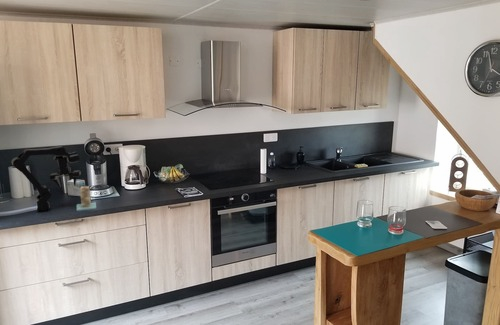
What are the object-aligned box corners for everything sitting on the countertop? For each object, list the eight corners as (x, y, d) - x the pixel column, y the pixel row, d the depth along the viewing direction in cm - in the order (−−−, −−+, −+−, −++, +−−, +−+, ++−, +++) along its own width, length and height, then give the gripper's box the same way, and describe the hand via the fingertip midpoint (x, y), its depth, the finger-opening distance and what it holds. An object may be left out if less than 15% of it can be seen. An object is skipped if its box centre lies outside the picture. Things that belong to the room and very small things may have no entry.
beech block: (81, 207, 255) (79, 188, 253) (83, 205, 260) (81, 186, 257) (89, 206, 256) (88, 188, 254) (90, 204, 261) (89, 186, 258)
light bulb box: (86, 193, 288) (85, 179, 286) (80, 196, 282) (78, 182, 280) (74, 192, 291) (72, 178, 289) (67, 195, 285) (66, 181, 282)
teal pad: (76, 211, 251) (76, 209, 251) (76, 205, 261) (76, 204, 261) (96, 208, 255) (96, 207, 255) (95, 203, 266) (95, 202, 266)
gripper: (80, 159, 264) (84, 181, 268) (50, 163, 260) (55, 185, 265) (77, 164, 254) (81, 186, 258) (46, 167, 250) (51, 190, 254)
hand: (67, 186), depth 259 cm, fingers open, 9 cm apart
